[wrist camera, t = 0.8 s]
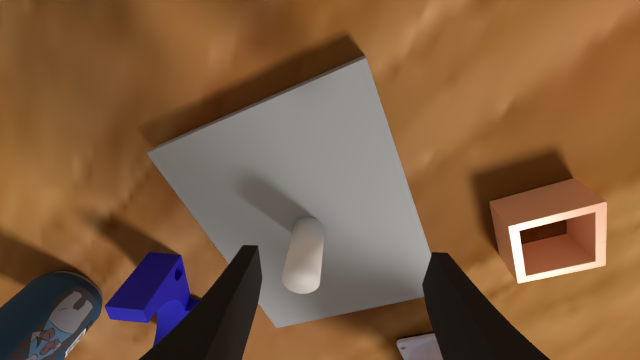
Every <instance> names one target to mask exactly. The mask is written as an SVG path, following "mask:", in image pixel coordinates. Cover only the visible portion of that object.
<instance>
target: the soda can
mask: <svg viewBox="0 0 640 360" xmlns="http://www.w3.org/2000/svg"><path fill="white" fill-rule="evenodd" d="M102 301H103V296H102V293H101V291H100V289H99V288H98V287H97V286H96V285H95V284H94V283H93V282H92V281H90V280H89V279H87V278H86V277H84V276H82V275H79V274H77V273H73V272H69V271H58V272H54V273H50V274H47V275H43V276H40V277H38V278H36V279H34V280H33V281H31V282H30V283H29V284H28V285H27V286H26V287H24V288H23V289H22V290H21V291H20V292H18V293H17V294H16V295H15V296H14V297H13V298H11V299H10V300H9V301H8V302H7V303H5V304H4V305H3V306H2V307H1V308H0V360H64V358H65V357H66V356H67V355H68V354H69V352H70V351H71V350H72V349H73V348H74V346H75V345H76V344H77V343H78V342H79V340H80V339H81V338H82V337H83V335H84V334H85V333H86V332H87V331H88V329H89V328H90V327H91V326H92V325H93V323H94V322H95V321H96V320H97V318H98V317H99V315H100V313H101V308H102Z"/></svg>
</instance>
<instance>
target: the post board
mask: <svg viewBox="0 0 640 360" xmlns="http://www.w3.org/2000/svg"><path fill="white" fill-rule="evenodd" d="M146 154H147V155H148V156H149V158H150V159H151V160H152V162H153V163H154V164H155V166H156V167H157V168H158V170H159V171H160V172H161V174H162V175H163V176H164V178H165V179H166V180H167V182H168V183H169V184H170V186H171V187H172V188H173V190H174V191H175V192H176V194H177V195H178V197H179V198H180V199H181V201H182V202H183V203H184V205H185V206H186V207H187V209H188V210H189V211H190V213H191V214H192V215H193V217H194V218H195V219H196V221H197V222H198V223H199V225H200V226H201V227H202V229H203V230H204V231H205V233H206V234H207V235H208V237H209V238H210V239H211V241H212V242H213V243H214V245H215V246H216V247H217V249H218V250H219V251H220V253H221V254H222V255H223V257H224V258H225V259H226V261H227V262H228V264H230V262H231V261H232V259H233V258H234V257H235V255H236V254H237V252H238V251H239V249H240V248H241V247H242V246H243V245H258V248H259V255H260V263H261V270H262V277H263V278H262V284H261V290H260V296H259V301H258V304H259V305H260V306H261V308H262V309H263V310H264V312H265V313H266V314H267V316H268V317H269V318H270V320H271V321H272V322H273V324H274V325H275V326H276V328H280V327H284V326H289V325H294V324H299V323H303V322H308V321H313V320H318V319H322V318H327V317H332V316H337V315H341V314H346V313H351V312H355V311H360V310H365V309H370V308H374V307H379V306H384V305H389V304H393V303H398V302H403V301H408V300H412V299H417V298H422V297H424V292H423V287H422V283H423V280H424V277H425V274H426V271H427V268H428V265H429V261H430V258H431V253H430V250H429V247H428V244H427V241H426V238H425V235H424V232H423V229H422V226H421V223H420V220H419V217H418V214H417V211H416V208H415V205H414V202H413V199H412V196H411V193H410V190H409V186H408V183H407V180H406V177H405V174H404V171H403V168H402V165H401V162H400V159H399V156H398V153H397V150H396V147H395V144H394V141H393V138H392V135H391V132H390V129H389V126H388V123H387V120H386V117H385V114H384V110H383V107H382V104H381V101H380V98H379V95H378V92H377V89H376V86H375V83H374V80H373V77H372V74H371V71H370V68H369V65H368V62H367V59H366V57H365V55H363V56H361V57H359V58H356V59H354V60H352V61H349V62H347V63H345V64H342V65H340V66H338V67H336V68H333V69H331V70H329V71H326V72H324V73H322V74H320V75H317V76H315V77H313V78H310V79H308V80H306V81H304V82H301V83H299V84H297V85H294V86H292V87H290V88H288V89H285V90H283V91H281V92H278V93H276V94H274V95H272V96H269V97H267V98H265V99H262V100H260V101H258V102H256V103H253V104H251V105H249V106H246V107H244V108H242V109H240V110H237V111H235V112H233V113H230V114H228V115H226V116H224V117H221V118H219V119H217V120H214V121H212V122H210V123H208V124H205V125H203V126H201V127H198V128H196V129H194V130H192V131H189V132H187V133H185V134H182V135H180V136H178V137H176V138H173V139H171V140H169V141H166V142H164V143H162V144H160V145H158V146H156V147H155V148H153V149H152V150H150V151H149V152H147V153H146Z"/></svg>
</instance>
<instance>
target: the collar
mask: <svg viewBox="0 0 640 360" xmlns="http://www.w3.org/2000/svg"><path fill="white" fill-rule="evenodd" d="M489 204H490V210H491V215H492V220H493V225H494V230H495V236H496V241H497V246H498V251H499V255H500V257H501V258H502V260H503V262H504V263H505V265H506V266H507V268H508V269H509V271H510V272H511V274H512V275H513V277H514V278H515V280H516V282H517V283H523V282H528V281H533V280H537V279H542V278H547V277H552V276H557V275H562V274H566V273H571V272H576V271H581V270H586V269H591V268H595V267H600V266H605V265H606V219H607V201H605V200H604V199H602V198H601V197H600V196H598V195H597V194H595V193H594V192H592V191H591V190H590V189H588V188H587V187H585V186H584V185H583V184H581V183H580V182H578V181H577V180H575V179H574V178H573V179H569V180H565V181H562V182H558V183H555V184H551V185H547V186H544V187H540V188H537V189H533V190H529V191H526V192H522V193H518V194H515V195H511V196H508V197H504V198H500V199H497V200H493V201H490V202H489ZM565 219H566V226H567V234H563V235H558V236H554V237H550V238H546V239H542V240H537V241H533V242H529V243H525V244H521V240H520V233H519V231H521V230H525V229H529V228H533V227H537V226H541V225H545V224H549V223H553V222H557V221H561V220H565Z"/></svg>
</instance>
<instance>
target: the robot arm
mask: <svg viewBox="0 0 640 360" xmlns="http://www.w3.org/2000/svg"><path fill="white" fill-rule="evenodd" d="M262 278H263V277H262V270H261V263H260V255H259V248H258V245H243V246H242V247H241V248H240V249H239V251H238V252H237V254H236V255H235V257H234V258H233V259H232V261H231V262H230V264H229V265H228V266H227V268H226V269H225V270H224V272H223V273H222V274H221V275H220V277H219V278H218V279H217V281H216V282H215V283H214V284H213V286H212V287H211V288H210V289H209V290H208V292H207V293H206V294H205V295H204V296H203V297H202V298H201V300H200V301H199V302H198V303H197V304H196V305H195V306H194V308H193V309H192V310H191V311H190V312H189V313H188V314H187V315H186V316H185V317H184V318H183V319H182V320H181V321H180V322H179V323H178V324H177V325H176V326H175V327H174V328H173V329H172V330H171V331H170V332H169V333H168V334H167V335H166V336H165V337H164V338H162V339H161V340H160V341H159V342H158V343H157V344H156V345H155V346H154V347H153V348H152V349H150V350H149V351H148V352H147V353H146V354H145V355H143V356H142V357H141V358H140V359H139V360H242V356H243V353H244V349H245V346H246V343H247V339H248V336H249V332H250V329H251V326H252V322H253V319H254V315H255V312H256V308H257V305H258V301H259V296H260V290H261V284H262ZM422 287H423V292H424V298H425V303H426V307H427V311H428V314H429V318H430V321H431V324H432V327H433V330H434V333H432V334H426V335H421V336H415V337H409V338H404V339H399V340H397V347H398V349H399V351H400V353H401V355H402V357H403V359H404V360H550V359H549V358H548V357H546V356H545V355H544V354H543V353H542V352H541V351H539V350H538V349H537V348H536V347H535V346H534V345H533V344H532V343H531V342H530V341H528V340H527V339H526V338H525V337H524V336H523V335H522V334H521V333H520V332H519V331H518V330H517V329H516V328H514V327H513V326H512V325H511V324H510V323H509V322H508V321H507V320H506V318H505V317H504V316H503V315H502V314H501V313H500V312H499V311H498V310H497V309H496V308H495V307H494V306H493V305H492V304H491V303H490V302H489V301H488V299H487V298H486V297H485V296H484V295H483V294H482V293H481V292H480V291H479V289H478V288H477V287H476V286H475V285H474V284H473V283H472V281H471V280H470V279H469V278H468V277H467V275H466V274H465V273H464V272H463V271H462V270H461V268H460V267H459V266H458V265H457V264H456V262H455V261H454V260H453V259H452V258H451V256H450V255H449V254H448V253H437V252H432V255H431V258H430V261H429V265H428V268H427V271H426V274H425V277H424V280H423V283H422Z"/></svg>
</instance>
